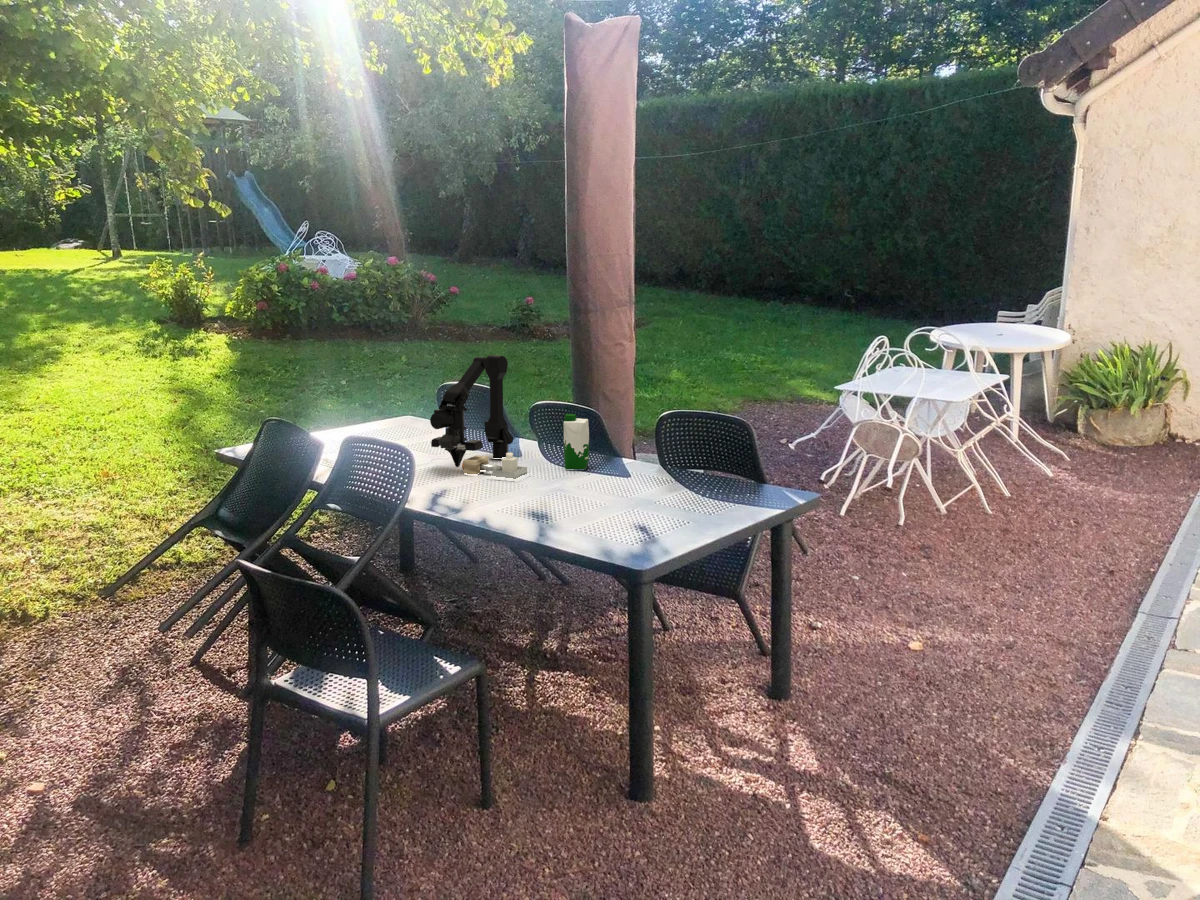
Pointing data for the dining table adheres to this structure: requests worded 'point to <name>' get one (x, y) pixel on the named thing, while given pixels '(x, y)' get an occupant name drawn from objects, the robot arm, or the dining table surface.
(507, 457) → the spigot
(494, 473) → the socket
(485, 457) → the mount
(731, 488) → the dining table surface
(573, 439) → the milk carton
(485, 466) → the pin
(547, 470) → the dining table surface
